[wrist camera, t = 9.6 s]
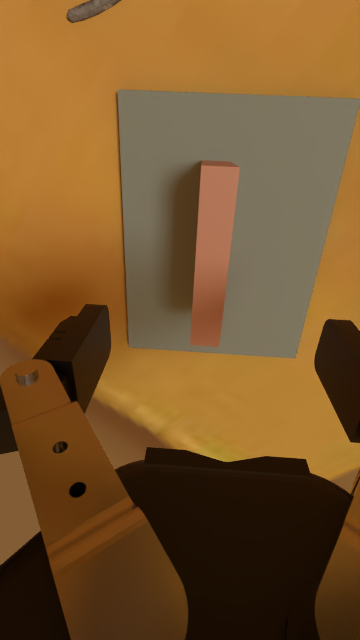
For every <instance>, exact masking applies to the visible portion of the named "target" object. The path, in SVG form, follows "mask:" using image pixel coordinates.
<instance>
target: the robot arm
mask: <svg viewBox="0 0 360 640" xmlns="http://www.w3.org/2000/svg"><path fill="white" fill-rule="evenodd" d="M110 350H111V335H110V323H109V311H108V307H107V305H94V304H86V305H85V306H84V307H83V309H82V310H81V312H80V313H79V315H78V316H70V317H69V318H67V319H66V320H64V321H62V322H61V323H60V324H59V325H58V326H57V328H56V329H55V330H54V332H53V333H52V334H51V335H50V337H49V339H47V340H46V342H45V343H44V344H43V346H42V347H41V348H40V350H39V351H38V352H37V353H36V355H35V356H34V357H33V359H32V360H26V361H22V362H19V363H16V364H14V365H12V366H10V367H9V368H7V369H6V370H5V371H4V372H3V373H2V375H1V377H0V454H4V453H9V452H14V451H19V454H20V458H21V461H22V465H23V468H24V472H25V476H26V479H27V483H28V486H29V490H30V493H31V497H32V501H33V504H34V507H35V511H36V515H37V519H38V522H39V526H40V529H41V531H40V532H38V533H37V534H36V535H35V536H34V537H33V538H32V539H30V540H29V541H28V542H27V543H26V544H25V545H23V546H22V547H21V548H20V549H19V550H18V551H17V552H15V553H14V554H13V555H12V556H11V557H10V558H8V559H7V560H6V561H5V562H4V563H3V564H1V565H0V640H360V469H359V471H358V474H357V476H356V478H355V481H354V483H353V486H352V488H351V490H350V492H349V493H348V492H347V491H345V490H344V489H342V488H341V487H339V486H338V485H336V484H334V483H332V482H330V481H329V480H327V479H325V478H322V477H320V476H317V475H315V474H312V473H310V471H309V468H308V464H307V461H306V459H297V458H283V457H270V456H264V457H258V458H252V459H246V460H239V461H233V462H223V461H220V460H216V459H213V458H210V457H206V456H203V455H200V454H197V453H193V452H190V451H187V450H177V449H164V448H151V447H147V450H146V455H145V460H140V461H136V462H132V463H129V464H126V465H124V466H121V467H119V468H117V469H114V468H113V466H112V464H111V462H110V461H109V458H108V457H107V455H106V453H105V451H104V449H103V447H102V446H101V444H100V442H99V440H98V438H97V436H96V435H95V433H94V431H93V429H92V427H91V425H90V424H89V422H88V420H87V418H86V416H85V412H86V409H87V407H88V405H89V402H90V400H91V398H92V395H93V393H94V391H95V388H96V386H97V384H98V381H99V379H100V377H101V374H102V372H103V370H104V367H105V365H106V363H107V360H108V358H109V355H110ZM314 363H315V370H316V372H317V375H318V377H319V379H320V381H321V383H322V385H323V387H324V389H325V391H326V393H327V395H328V397H329V399H330V401H331V403H332V405H333V407H334V409H335V411H336V413H337V416H338V418H339V420H340V422H341V424H342V426H343V428H344V430H345V432H346V434H347V436H348V438H349V440H350V442H355V443H360V331H359V330H358V328H357V327H356V326H355V325H354V324H353V322H352V321H350V320H335V319H328V320H327V321H326V322H325V324H324V327H323V330H322V333H321V337H320V340H319V344H318V347H317V350H316V354H315V360H314Z"/></svg>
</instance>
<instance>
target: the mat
mask: <svg viewBox="0 0 360 640" xmlns="http://www.w3.org/2000/svg"><path fill="white" fill-rule="evenodd" d="M117 91H118V113H119V136H120V158H121V180H122V203H123V225H124V248H125V270H126V293H127V315H128V338H129V347H131V348H146V349H161V350H176V351H191V352H206V353H221V354H236V355H251V356H266V357H281V358H296V354H297V350H298V346H299V342H300V338H301V334H302V330H303V326H304V322H305V318H306V314H307V310H308V306H309V302H310V298H311V295H312V291H313V287H314V283H315V279H316V275H317V271H318V267H319V263H320V259H321V255H322V251H323V247H324V243H325V239H326V235H327V231H328V227H329V223H330V219H331V215H332V211H333V207H334V203H335V200H336V196H337V192H338V188H339V184H340V180H341V176H342V172H343V168H344V164H345V160H346V156H347V152H348V148H349V144H350V140H351V136H352V132H353V128H354V124H355V120H356V116H357V112H358V108H359V105H360V99H355V98H328V97H301V96H275V95H248V94H221V93H194V92H167V91H140V90H117ZM202 160H210V161H230V162H232V163H234V164H235V165H237V166H239V167H240V171H239V179H238V188H237V197H236V206H235V214H234V223H233V232H232V241H231V249H230V258H229V267H228V276H227V284H226V293H225V302H224V310H223V319H222V328H221V337H220V345H219V347H212V346H196V345H190V337H191V321H192V306H193V290H194V274H195V258H196V242H197V226H198V210H199V194H200V178H201V163H202Z"/></svg>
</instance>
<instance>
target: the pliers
mask: <svg viewBox="0 0 360 640" xmlns="http://www.w3.org/2000/svg"><path fill="white" fill-rule="evenodd" d="M119 1H120V0H90V1H88V2H85V3H83V4H81V5H78V6H76V7H74V8H72V9H70V10H68V13H67V19H68V20H69V21H71V22H72V23H73V22H78V21H83V20H85V19H88V18H90V17H93V16H95V15H98V14H100V13H102V12H103V11H105V10H107V9H109V8H110V7H112V6H114V5H115V4H117V3H118V2H119Z"/></svg>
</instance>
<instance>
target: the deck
mask: <svg viewBox="0 0 360 640" xmlns="http://www.w3.org/2000/svg"><path fill="white" fill-rule="evenodd" d="M239 171H240V167H239V166H237V165H235V164H234V163H232V162H230V161H210V160H202V163H201V178H200V194H199V210H198V226H197V242H196V258H195V274H194V290H193V306H192V321H191V337H190V345H196V346H212V347H219V345H220V337H221V328H222V319H223V310H224V302H225V293H226V284H227V276H228V267H229V258H230V249H231V241H232V232H233V223H234V214H235V206H236V197H237V188H238V179H239Z"/></svg>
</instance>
